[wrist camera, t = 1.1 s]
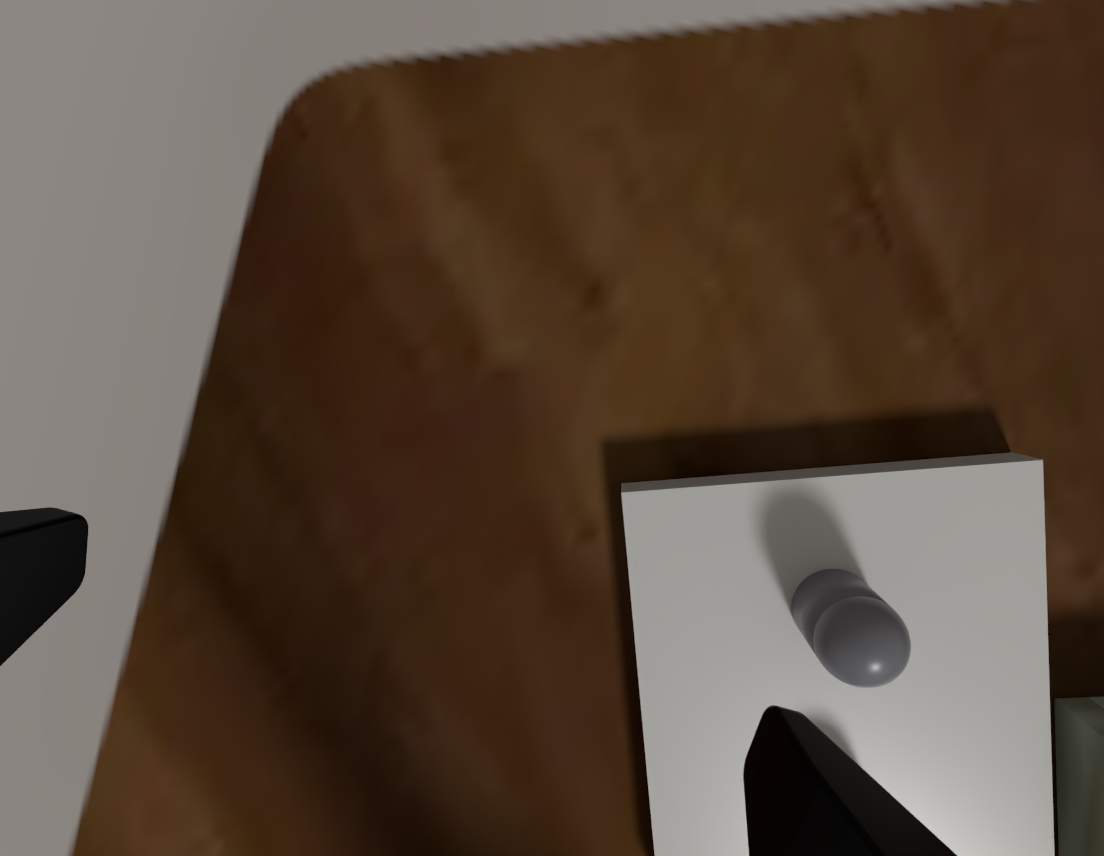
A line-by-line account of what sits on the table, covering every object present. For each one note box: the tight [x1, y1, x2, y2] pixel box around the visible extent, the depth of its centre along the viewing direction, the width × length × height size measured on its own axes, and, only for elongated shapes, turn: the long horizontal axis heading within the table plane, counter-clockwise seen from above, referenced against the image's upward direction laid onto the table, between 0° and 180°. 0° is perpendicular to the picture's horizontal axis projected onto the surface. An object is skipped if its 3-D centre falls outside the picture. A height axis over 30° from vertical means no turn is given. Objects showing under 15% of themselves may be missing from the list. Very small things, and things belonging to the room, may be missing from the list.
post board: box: [621, 452, 1055, 856], centre depth 19 cm, size 14×12×5 cm
